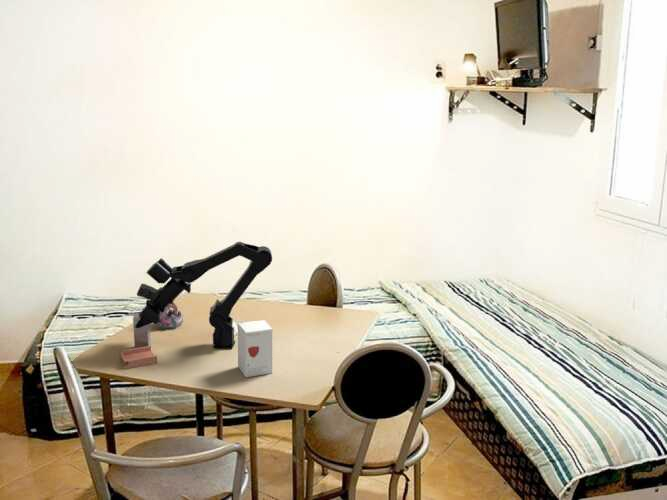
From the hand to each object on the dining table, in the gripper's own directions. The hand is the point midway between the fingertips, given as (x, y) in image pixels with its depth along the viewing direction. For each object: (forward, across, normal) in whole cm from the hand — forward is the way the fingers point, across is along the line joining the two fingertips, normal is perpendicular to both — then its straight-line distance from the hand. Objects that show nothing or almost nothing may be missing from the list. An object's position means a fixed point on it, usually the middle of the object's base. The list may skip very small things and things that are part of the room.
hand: (137, 324), depth 211 cm
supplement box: (-21, +21, +34) cm, 45 cm away
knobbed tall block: (+5, 0, +7) cm, 9 cm away
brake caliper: (+1, -22, +12) cm, 25 cm away
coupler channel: (+5, +10, +7) cm, 13 cm away
